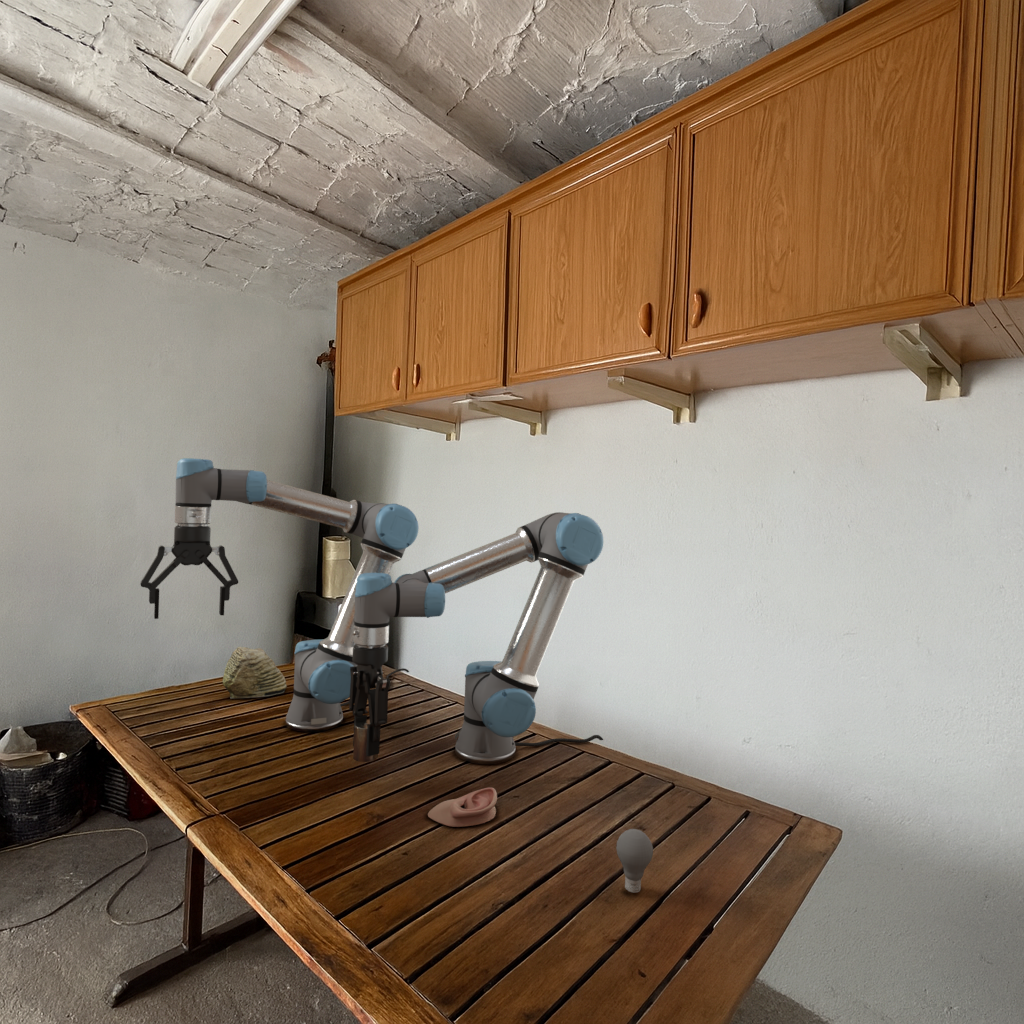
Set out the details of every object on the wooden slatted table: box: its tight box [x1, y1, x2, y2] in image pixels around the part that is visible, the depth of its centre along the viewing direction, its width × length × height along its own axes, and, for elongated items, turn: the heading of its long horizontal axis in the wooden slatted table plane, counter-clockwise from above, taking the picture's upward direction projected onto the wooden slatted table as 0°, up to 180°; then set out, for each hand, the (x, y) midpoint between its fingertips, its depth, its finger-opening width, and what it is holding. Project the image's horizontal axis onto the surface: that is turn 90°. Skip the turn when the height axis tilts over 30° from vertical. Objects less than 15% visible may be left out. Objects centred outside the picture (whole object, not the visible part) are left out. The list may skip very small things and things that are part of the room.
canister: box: [352, 719, 379, 763], centre depth 138 cm, size 5×5×7 cm
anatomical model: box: [427, 787, 498, 828], centre depth 129 cm, size 13×4×12 cm
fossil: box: [222, 646, 288, 699], centre depth 198 cm, size 9×18×15 cm, turn 132°
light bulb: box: [615, 828, 654, 894], centre depth 106 cm, size 6×6×10 cm
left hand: (189, 616), depth 148 cm, fingers open, 13 cm apart
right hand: (366, 749), depth 139 cm, fingers closed on canister, 5 cm apart
